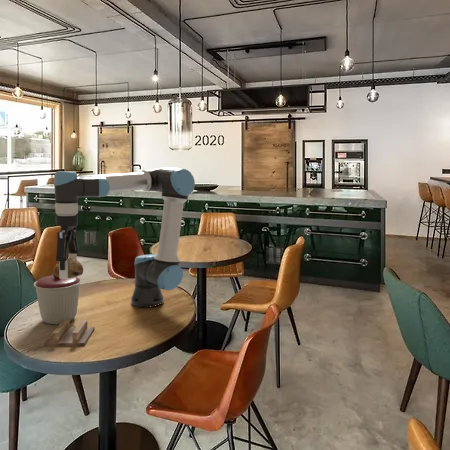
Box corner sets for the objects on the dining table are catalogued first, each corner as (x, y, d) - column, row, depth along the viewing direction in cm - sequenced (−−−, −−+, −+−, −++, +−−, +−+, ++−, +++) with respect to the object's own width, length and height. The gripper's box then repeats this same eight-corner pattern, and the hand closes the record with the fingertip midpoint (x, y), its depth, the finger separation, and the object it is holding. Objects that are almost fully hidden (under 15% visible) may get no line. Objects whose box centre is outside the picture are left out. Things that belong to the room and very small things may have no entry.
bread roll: (61, 289, 138) (67, 271, 135) (45, 272, 142) (50, 254, 140) (85, 282, 147) (90, 265, 144) (69, 267, 151) (74, 250, 148)
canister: (79, 309, 175) (78, 263, 172) (85, 324, 159) (83, 274, 156) (34, 315, 167) (32, 267, 164) (36, 331, 151) (33, 279, 148)
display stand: (94, 329, 155) (94, 318, 154) (84, 345, 141) (84, 333, 140) (58, 329, 154) (57, 318, 153) (44, 345, 140) (44, 334, 139)
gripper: (66, 210, 151) (68, 266, 154) (43, 218, 129) (46, 283, 132) (86, 211, 152) (87, 266, 155) (67, 218, 129) (69, 283, 133)
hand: (68, 274), depth 144 cm, fingers closed on bread roll, 10 cm apart
